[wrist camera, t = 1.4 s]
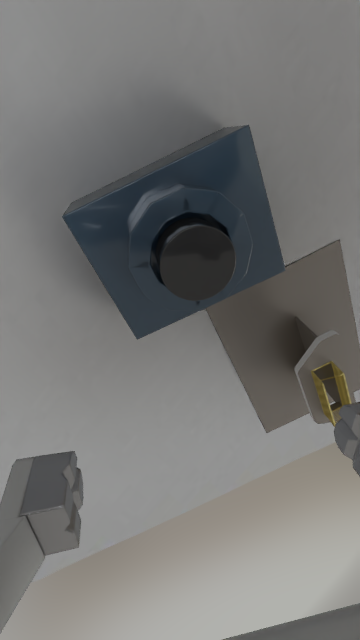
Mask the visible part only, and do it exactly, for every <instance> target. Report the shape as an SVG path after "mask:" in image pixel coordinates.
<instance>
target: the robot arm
mask: <svg viewBox="0 0 360 640" xmlns="http://www.w3.org/2000/svg"><path fill="white" fill-rule="evenodd" d="M339 415H340V417H341V419H340V420H339V421H338V422H337V423H336V425H335V429H334V436H335V441H336V443H337V445H338V447H339V449H340V450H341V452H342V453H343V454H344V455H345V456H347V457H349V458H351V459H352V460H353V468H354V469H355V471H356V472H357V473H358V475H359V476H360V402H357V403H352V404H346V405H343V406H342V407H341V408H340V411H339ZM82 505H83V479H82V474H81V470H80V469H79V468H77V456H76V454H75V451H70V452H63V453H56V454H49V455H42V456H36V457H29V458H23V459H16V461H15V462H14V464H13V465H12V468H11V471H10V475H9V478H8V481H7V484H6V488H5V491H4V494H3V497H2V500H1V504H0V633H1V632H2V630H3V628H4V626H5V625H6V623H7V621H8V620H9V618H10V616H11V615H12V613H13V611H14V610H15V608H16V606H17V605H18V603H19V601H20V600H21V598H22V596H23V594H24V593H25V591H26V589H27V588H28V586H29V584H30V583H31V581H32V579H33V578H34V576H35V574H36V573H37V571H38V569H39V568H40V566H41V564H42V562H43V561H44V559H45V555H50V554H54V553H58V552H62V551H66V550H71V549H75V548H79V540H80V529H81V519H80V516H79V512H78V510H79V509H80V507H81V506H82ZM223 640H360V603H359V604H355V605H351V606H347V607H344V608H340V609H336V610H332V611H328V612H325V613H321V614H317V615H314V616H310V617H306V618H302V619H298V620H294V621H291V622H287V623H283V624H279V625H275V626H272V627H268V628H264V629H260V630H257V631H253V632H249V633H246V634H241V635H238V636H234V637H230V638H226V639H223Z"/></svg>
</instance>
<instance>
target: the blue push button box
mask: <svg viewBox="0 0 360 640" xmlns="http://www.w3.org/2000/svg"><path fill="white" fill-rule="evenodd" d="M188 217H198V218H202V219H205V220H207V221H209V222H211V223H212V224H214V225H215V226H216V227H217V228H219V229H220V230H221V231H222V232H223V233H224V234H226V235H227V236H228V238H229V239H230V240H231V242H232V244H233V246H234V248H235V252H236V267H235V271H234V274H233V276H232V278H231V280H230V282H229V283H228V284H227V286H226V287H225V288H224V289H223V290H222V291H220V292H219V293H218V294H216V295H214V296H213V297H210V298H208V299H204V300H199V301H191V300H185V299H182V298H179V297H178V296H176V295H174V294H173V293H172V292H170V291H169V290H168V288H167V287H166V286H165V284H164V282H163V280H162V278H161V275H160V272H159V269H158V266H157V263H156V258H155V251H156V246H157V242H158V240H159V238H160V236H161V234H162V233H163V232H164V230H165V229H166V228H167V227H168V226H170V225H171V224H172V223H174V222H176V221H178V220H180V219H183V218H188ZM62 218H63V219H64V221H65V223H66V224H67V226H68V227H69V229H70V231H71V232H72V234H73V236H74V237H75V239H76V241H77V242H78V244H79V245H80V247H81V249H82V250H83V252H84V254H85V255H86V257H87V259H88V260H89V262H90V263H91V265H92V267H93V268H94V270H95V272H96V273H97V275H98V276H99V278H100V280H101V281H102V283H103V285H104V286H105V288H106V290H107V291H108V293H109V294H110V296H111V298H112V299H113V301H114V303H115V304H116V306H117V308H118V309H119V311H120V312H121V314H122V316H123V317H124V319H125V321H126V322H127V324H128V326H129V327H130V329H131V330H132V332H133V334H134V335H135V337H136V339H140V338H142V337H144V336H146V335H148V334H150V333H153V332H155V331H157V330H159V329H161V328H163V327H165V326H168V325H170V324H172V323H174V322H176V321H178V320H181V319H183V318H185V317H187V316H189V315H191V314H193V313H196V312H198V311H201V310H203V309H205V308H207V307H209V306H211V305H214V304H216V303H218V302H220V301H222V300H224V299H226V298H228V297H230V296H232V295H234V294H237V293H239V292H241V291H243V290H245V289H247V288H249V287H252V286H254V285H256V284H258V283H260V282H262V281H265V280H267V279H269V278H271V277H273V276H275V275H277V274H280V273H282V272H284V271H286V269H285V265H284V261H283V258H282V254H281V250H280V246H279V242H278V238H277V234H276V230H275V226H274V222H273V218H272V214H271V210H270V206H269V202H268V198H267V194H266V190H265V186H264V182H263V178H262V174H261V171H260V167H259V163H258V159H257V155H256V151H255V147H254V143H253V139H252V135H251V131H250V127H249V125H243V126H234V127H226V128H223V129H221V130H218V131H216V132H214V133H212V134H210V135H208V136H206V137H204V138H202V139H200V140H198V141H196V142H194V143H192V144H190V145H188V146H186V147H184V148H182V149H180V150H178V151H176V152H174V153H172V154H170V155H168V156H166V157H163V158H161V159H159V160H157V161H155V162H153V163H151V164H149V165H147V166H145V167H143V168H141V169H139V170H137V171H135V172H133V173H131V174H129V175H127V176H125V177H123V178H121V179H119V180H117V181H115V182H113V183H111V184H109V185H106V186H104V187H102V188H100V189H98V190H96V191H94V192H92V193H90V194H88V195H86V196H84V197H82V198H80V199H78V200H76V201H74V202H72V203H71V204H70V205H69V207H68V208H67V210H66V211H65V213H64V214H63V216H62Z"/></svg>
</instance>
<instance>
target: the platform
mask: <svg viewBox="0 0 360 640" xmlns="http://www.w3.org/2000/svg"><path fill="white" fill-rule="evenodd" d="M285 269H286V271H284V272H282V273H280V274H277V275H275V276H273V277H271V278H269V279H267V280H265V281H262V282H260V283H258V284H256V285H254V286H252V287H249V288H247V289H245V290H243V291H241V292H239V293H237V294H234V295H232V296H230V297H228V298H226V299H224V300H222V301H220V302H218V303H216V304H214V305H211V306H209V307H207V308H206V310H207V312H208V314H209V316H210V318H211V320H212V323H213V325H214V327H215V329H216V331H217V333H218V335H219V337H220V339H221V341H222V343H223V345H224V347H225V349H226V351H227V353H228V355H229V357H230V359H231V361H232V363H233V365H234V367H235V369H236V371H237V373H238V376H239V378H240V380H241V382H242V384H243V386H244V388H245V390H246V392H247V394H248V396H249V398H250V400H251V402H252V404H253V406H254V408H255V410H256V412H257V414H258V416H259V418H260V420H261V422H262V424H263V426H264V429H265V431H266V433H268V432H270V431H272V430H274V429H277V428H279V427H281V426H283V425H285V424H287V423H289V422H291V421H294V420H296V419H298V418H300V417H302V416H304V415H306V414H308V413H310V415H311V417H312V418H313V420H314V421H315V422H316V423H318V424H321V423H328V422H331V423H332V424H333V426H334V427H335V425H336V424H335V423H337V422H338V421H339V420H340V419H341V417H340V415H339V411H340V408H341V407H342V406H343V405H346V404H352V403H356V402H355V398H354V393H353V392H355V391H357V390H359V389H360V346H359V340H358V335H357V330H356V324H355V319H354V314H353V308H352V303H351V298H350V292H349V287H348V282H347V276H346V271H345V266H344V260H343V255H342V250H341V244H340V240H338V241H336V242H334V243H332V244H330V245H328V246H326V247H324V248H322V249H320V250H318V251H316V252H314V253H312V254H310V255H308V256H306V257H304V258H302V259H300V260H298V261H296V262H295V263H293V264H291V265H289V266H287V267H285ZM334 401H335V402H336V403H334V404H332V405H330V403H332V402H334ZM336 421H337V422H336Z"/></svg>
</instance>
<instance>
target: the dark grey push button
mask: <svg viewBox="0 0 360 640" xmlns="http://www.w3.org/2000/svg"><path fill="white" fill-rule="evenodd" d="M155 258H156V263H157V266H158V269H159V272H160V275H161V278H162V280H163V282H164V284H165V286H166V287H167V288H168V290H169V291H170V292H172V293H173V294H174V295H176V296H178V297H179V298H182V299H185V300H191V301H199V300H204V299H208V298H210V297H213V296H214V295H216V294H218V293H219V292H220V291H222V290H223V289H224V288H225V287H226V286H227V284H228V283H229V282H230V280H231V278H232V276H233V274H234V271H235V267H236V252H235V248H234V246H233V244H232V242H231V240H230V239H229V238H228V236H227V235H226V234H224V233H223V232H222V231H221V230H220V229H219V228H217V227H216V226H215V225H214V224H212V223H211V222H209V221H207V220H205V219H202V218H198V217H188V218H183V219H180V220H178V221H176V222H174V223H172V224H171V225H170V226H168V227H167V228H166V229H165V230H164V232H163V233H162V234H161V236H160V238H159V240H158V242H157V246H156V251H155Z"/></svg>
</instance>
